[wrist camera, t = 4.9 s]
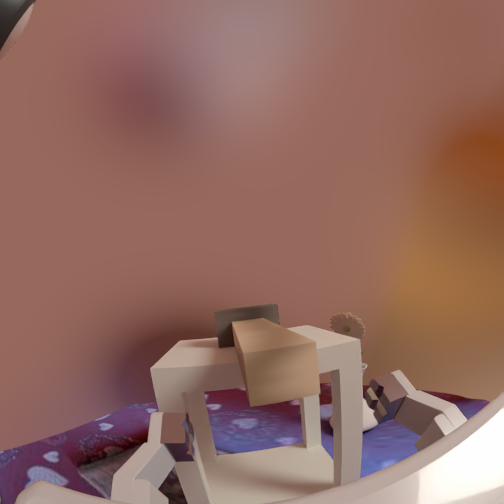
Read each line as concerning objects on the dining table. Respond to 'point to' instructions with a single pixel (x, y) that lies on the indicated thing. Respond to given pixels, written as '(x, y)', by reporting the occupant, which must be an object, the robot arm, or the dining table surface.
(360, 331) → the flower in vase
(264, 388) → the mallet
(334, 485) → the shelf stand
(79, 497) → the robot arm
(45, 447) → the dining table surface
